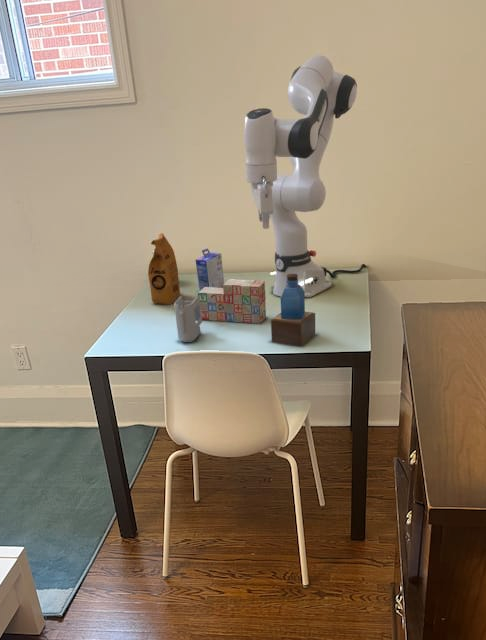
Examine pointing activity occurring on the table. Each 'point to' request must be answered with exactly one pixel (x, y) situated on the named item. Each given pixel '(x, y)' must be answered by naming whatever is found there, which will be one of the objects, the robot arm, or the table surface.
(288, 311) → the perfume bottle
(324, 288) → the robot arm
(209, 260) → the ink cartridge box
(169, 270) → the coffee package
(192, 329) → the cable organizer
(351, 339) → the table surface
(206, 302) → the stack of blocks
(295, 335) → the walnut block
